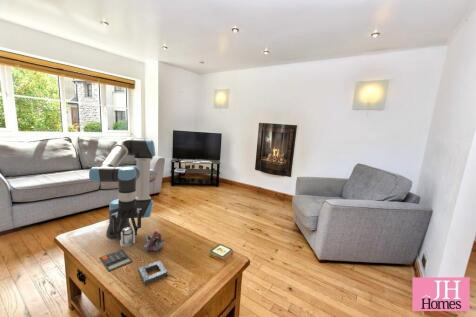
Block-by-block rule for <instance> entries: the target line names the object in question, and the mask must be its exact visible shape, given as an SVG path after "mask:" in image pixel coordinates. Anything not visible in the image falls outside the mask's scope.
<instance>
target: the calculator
mask: <svg viewBox="0 0 476 317" xmlns="http://www.w3.org/2000/svg"><path fill="white" fill-rule="evenodd" d="M99 260H100V262H101V263H102V264H103V265H104V267H105V268H106V270H107V272H112V271H115V270H116V269H119V268H121V267H123V266H126V265H128V264H130V263H133V260H132V259H131V257H130V256H129V255H128V254H127V253H126V252H125V250H123V248H121V249H118V250H115V251H114V252H111V253H108V254H106V255H102V256H100V257H99Z"/></svg>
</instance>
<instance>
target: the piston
mask: <svg viewBox="0 0 476 317" xmlns="http://www.w3.org/2000/svg"><path fill="white" fill-rule="evenodd" d="M132 229H133V226H132V227H126V228H124V229H123V230H122V233H123V246H122V247H124V248H125V247H131V246H132V245H133V244H134V243H133V241H132V233H133V231H132Z"/></svg>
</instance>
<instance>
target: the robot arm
mask: <svg viewBox="0 0 476 317" xmlns="http://www.w3.org/2000/svg"><path fill="white" fill-rule="evenodd" d="M155 150H156V148H155V143H154V141H153V140H152V139H147V138H124V139H121V140H119V141H117V142H116V143H114V144H113V146H112V147H111V151H110V153H108V155H107V156H106V158H105V159H104V160H103V162H102V163H101V164H100V165H99V166H92V167H90V169H89V172H88V177H89V180H90V181H91V182H93V183H95V182H96V183H106V182H107V183H117V184H118V185H117V186H118V189H117V190H118V193H117V194H118V195H117V197H118V198H116V199H113V200H112V201H110V203H109V204H108V206H109V207H108V217H109V218H108V220H109V221H108V222H109V223H108V226H107V229H106V232H105V234H106V235H105V236H106V237H107V238H110V239H117V240H118V241H119V244H120V245H119V246H120V247H124V246H123V233H122V230H123V229H124V228H126V227H132V231H133V233H132V241H133V243H132V244H135V243H136V237H137V236H138V229H141V228H142V219H145V218H149V217H151V215H152V212H153V206H154V200H152V197H151V195H150V181H151V180H150V179H151V178H150V174H151V173H150V172H151V162H152V160H153V157H155V156H156V151H155ZM126 156H133V157H134V160H135V161H136V162H135V163H136V166H135V165H131V166H123V167H122V166H120V167H119V165H120V163H122V161H123V159H124V158H125V157H126ZM135 219H137V220H135ZM130 220H131V222H130ZM136 221H137V223H136ZM131 224H132V225H131Z"/></svg>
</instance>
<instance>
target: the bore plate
mask: <svg viewBox="0 0 476 317" xmlns="http://www.w3.org/2000/svg"><path fill="white" fill-rule="evenodd" d="M137 269H138V270H137V271H138V274H139V276H140V277H141V280H142V282H143V284H144V285H147V284H150V283H152V282H155V281H157V280H160V279H162V278H164V277H167V276H168V270H167V268H166V267H165V265H164V264H163V263H162V261H161V260H157V261H154V262H151V263H148V264H145V265H142V266H139V267H138V268H137ZM155 269H157V271H158V272H155V273H152V274H150V275H149V274H148V271H152V270H155Z"/></svg>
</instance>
